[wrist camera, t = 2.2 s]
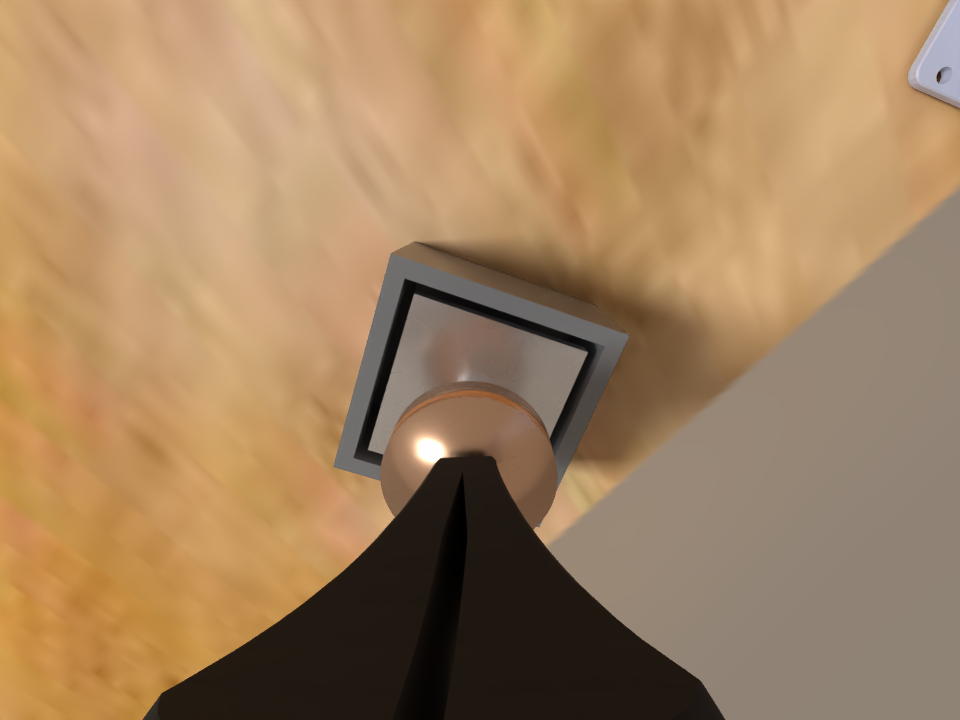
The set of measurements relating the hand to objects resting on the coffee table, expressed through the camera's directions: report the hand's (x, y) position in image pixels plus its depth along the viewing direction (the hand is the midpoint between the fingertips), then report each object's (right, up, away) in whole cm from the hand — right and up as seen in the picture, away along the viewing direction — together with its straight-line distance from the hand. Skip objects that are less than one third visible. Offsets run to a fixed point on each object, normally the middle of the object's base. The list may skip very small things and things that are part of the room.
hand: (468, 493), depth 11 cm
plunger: (0, +2, +5) cm, 6 cm away
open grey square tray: (0, +3, +9) cm, 10 cm away
